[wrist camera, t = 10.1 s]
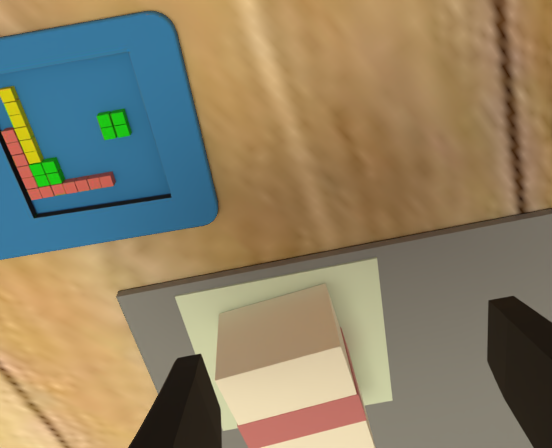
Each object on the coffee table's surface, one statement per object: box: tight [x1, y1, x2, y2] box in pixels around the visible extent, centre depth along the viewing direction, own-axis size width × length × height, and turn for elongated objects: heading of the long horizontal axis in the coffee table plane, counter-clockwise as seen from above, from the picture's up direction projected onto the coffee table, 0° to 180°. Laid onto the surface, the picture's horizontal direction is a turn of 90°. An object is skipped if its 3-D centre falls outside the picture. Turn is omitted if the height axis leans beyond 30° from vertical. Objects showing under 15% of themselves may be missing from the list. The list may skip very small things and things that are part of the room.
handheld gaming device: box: [0, 11, 218, 260], centre depth 19 cm, size 8×1×15 cm
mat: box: [116, 209, 552, 448], centre depth 26 cm, size 20×16×1 cm
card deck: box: [215, 283, 376, 448], centre depth 23 cm, size 7×5×4 cm
